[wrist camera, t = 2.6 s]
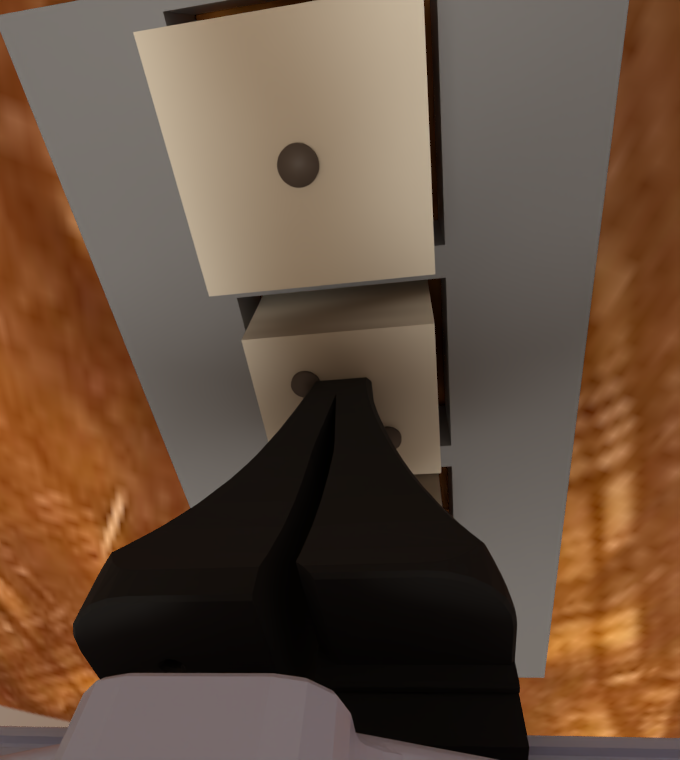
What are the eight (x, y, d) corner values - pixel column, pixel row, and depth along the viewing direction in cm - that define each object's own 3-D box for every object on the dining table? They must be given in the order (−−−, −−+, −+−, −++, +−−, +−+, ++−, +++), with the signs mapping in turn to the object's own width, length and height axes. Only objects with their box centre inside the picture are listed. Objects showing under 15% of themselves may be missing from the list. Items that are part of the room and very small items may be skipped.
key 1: (413, -5, 10) (423, -19, 7) (425, 223, 13) (435, 277, 10) (195, 32, 11) (129, 31, 8) (245, 243, 13) (207, 299, 10)
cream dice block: (425, 269, 14) (435, 326, 12) (432, 402, 17) (441, 476, 14) (267, 285, 15) (239, 342, 12) (295, 411, 17) (277, 483, 15)
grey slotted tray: (601, -82, 11) (641, -104, 9) (532, 631, 23) (544, 677, 22) (48, 18, 12) (-6, 15, 11) (266, 633, 25) (257, 676, 23)
